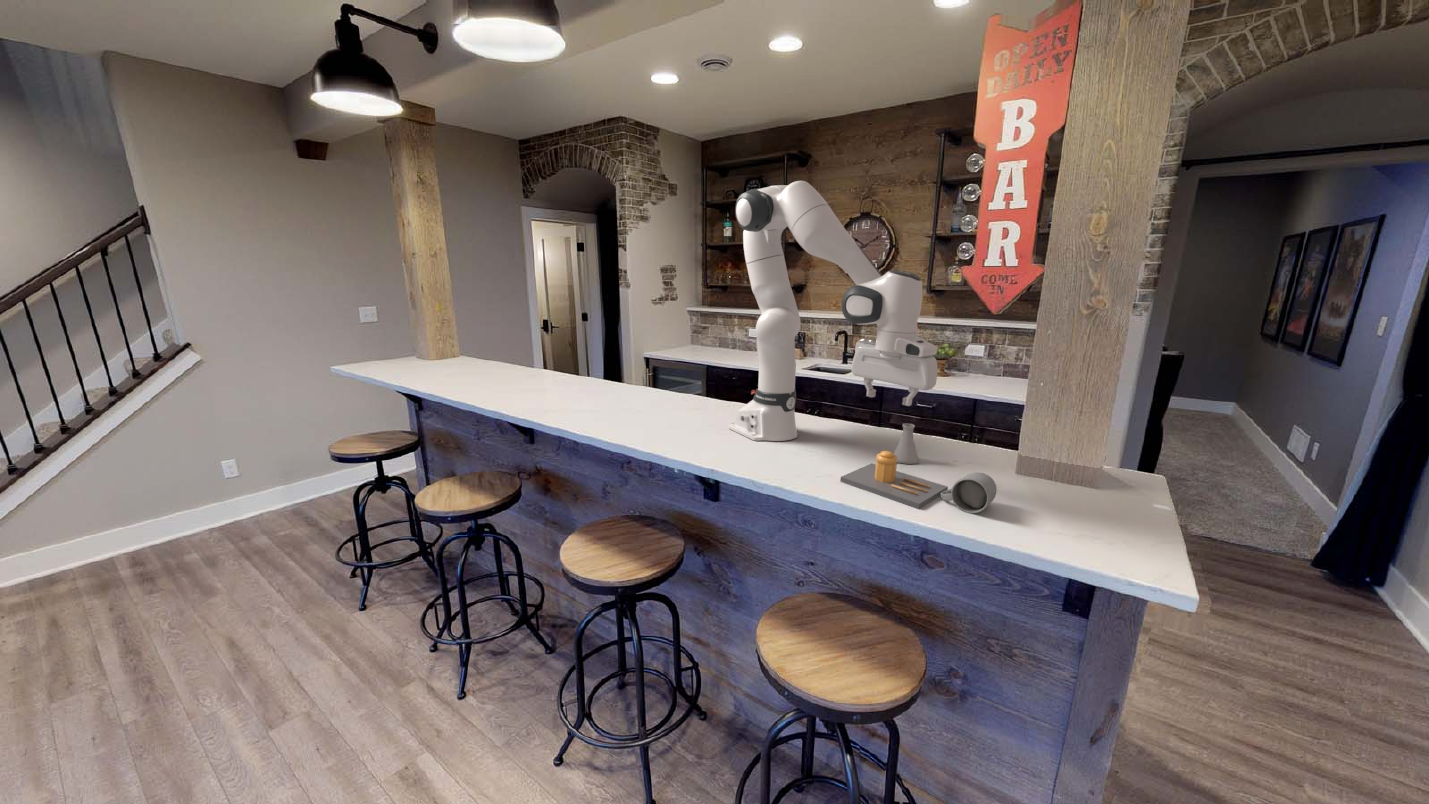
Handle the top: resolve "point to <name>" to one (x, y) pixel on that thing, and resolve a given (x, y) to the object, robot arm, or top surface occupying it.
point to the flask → (906, 446)
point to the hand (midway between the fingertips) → (888, 400)
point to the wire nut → (886, 466)
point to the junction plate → (896, 486)
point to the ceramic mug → (972, 492)
